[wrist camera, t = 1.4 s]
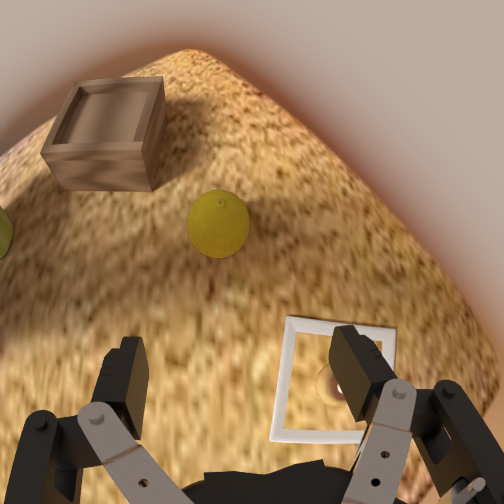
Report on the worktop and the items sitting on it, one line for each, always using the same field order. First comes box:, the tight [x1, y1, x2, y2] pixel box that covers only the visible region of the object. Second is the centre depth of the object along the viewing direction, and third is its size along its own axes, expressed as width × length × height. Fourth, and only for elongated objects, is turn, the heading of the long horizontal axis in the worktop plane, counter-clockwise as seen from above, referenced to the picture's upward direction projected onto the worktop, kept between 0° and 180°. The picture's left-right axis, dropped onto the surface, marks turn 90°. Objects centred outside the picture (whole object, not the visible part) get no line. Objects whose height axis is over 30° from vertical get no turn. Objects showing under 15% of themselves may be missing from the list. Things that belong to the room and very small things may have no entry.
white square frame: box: [269, 316, 396, 444], centre depth 27 cm, size 12×12×5 cm
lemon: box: [187, 190, 250, 258], centre depth 28 cm, size 6×6×8 cm
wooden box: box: [40, 76, 167, 192], centre depth 31 cm, size 11×11×8 cm
